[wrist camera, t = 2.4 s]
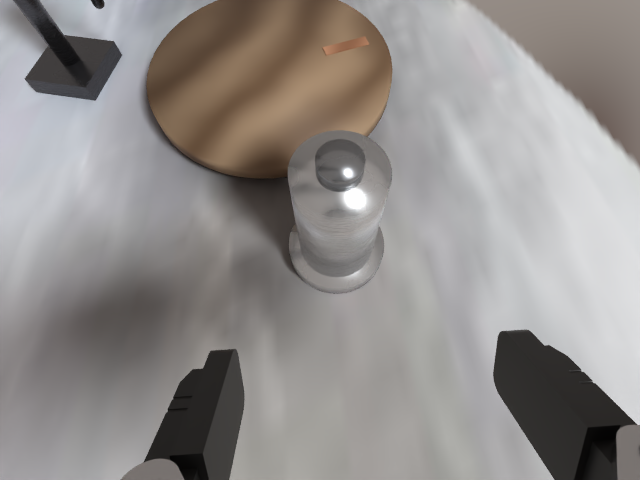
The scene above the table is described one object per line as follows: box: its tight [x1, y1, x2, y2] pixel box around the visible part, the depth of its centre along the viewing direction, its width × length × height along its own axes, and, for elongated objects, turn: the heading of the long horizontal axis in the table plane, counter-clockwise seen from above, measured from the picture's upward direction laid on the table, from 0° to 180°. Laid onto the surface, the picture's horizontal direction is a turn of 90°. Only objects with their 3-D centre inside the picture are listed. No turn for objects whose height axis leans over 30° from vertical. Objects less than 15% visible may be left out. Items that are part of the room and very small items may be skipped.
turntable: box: [147, 0, 392, 178], centre depth 33 cm, size 21×21×2 cm
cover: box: [288, 130, 392, 294], centre depth 23 cm, size 7×7×11 cm
